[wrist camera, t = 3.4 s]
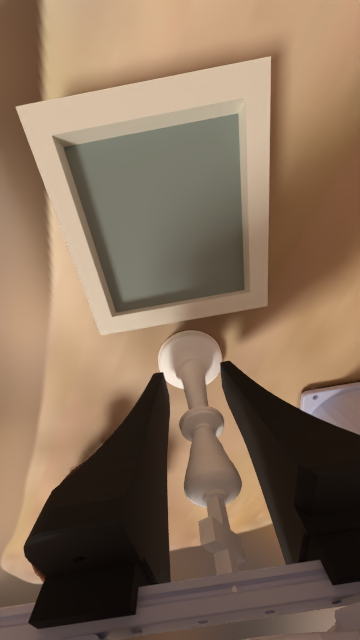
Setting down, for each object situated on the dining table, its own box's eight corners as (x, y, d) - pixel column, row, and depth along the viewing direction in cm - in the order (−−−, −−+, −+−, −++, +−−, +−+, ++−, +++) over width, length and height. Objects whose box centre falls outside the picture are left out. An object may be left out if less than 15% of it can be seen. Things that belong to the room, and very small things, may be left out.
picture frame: (248, 100, 8) (271, 56, 6) (252, 298, 12) (267, 306, 10) (50, 139, 9) (15, 106, 7) (111, 323, 12) (100, 335, 10)
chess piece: (198, 317, 12) (288, 517, 3) (232, 363, 14) (363, 594, 4) (145, 353, 13) (77, 602, 4) (182, 393, 15) (201, 641, 5)
